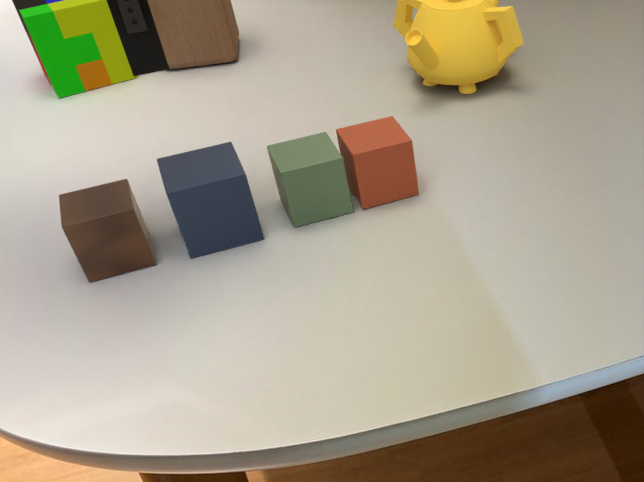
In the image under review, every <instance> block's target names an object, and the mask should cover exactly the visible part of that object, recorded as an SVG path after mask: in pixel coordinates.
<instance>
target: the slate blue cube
mask: <svg viewBox="0 0 644 482" xmlns="http://www.w3.org/2000/svg"><path fill="white" fill-rule="evenodd" d="M156 163H157V166H158V170H159V173H160V177H161V180H162V181H161V182H162V184H163V187H164V191H165V194H166V197H167V200H168V202H169V205H170V208H171V210H172V213H173V216H174V218H175V221H176V224H177V226H178V229H179V232H180V236H181V237H182V240H183V242H184V245H185V248H186V251H187V254H188V256H189V258H190V259H195V258H199V257H202V256H206V255H209V254H210V255H211V254H214V253H217V252H220V251H221V252H222V251H224V250H229V249H233V248H235V247H239V246H243V245H248V244H250V243H254V242H258V241H262V240H265V235H264V232H263V228H262V225H261V222H260V218H259V215H258V211H257V208H256V205H255V201H254V197H253V195H252V190H251V188H250V187H251V186H250V185H249V180H248V177H247V173H246V171H245V170H244V167H243V165H242V162H241V161H240V159H239V156H238V153H237V150H236V149H235V147H234V145H233V142H232V141H228V142H224V143H219V144H214V145H211V146H206V147H203V148H198V149H197V148H196V149H192V150H188V151H185V152H181V153H175V154H172V155H166V156H163V157H158V158H157V159H156Z"/></svg>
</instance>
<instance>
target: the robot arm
mask: <svg viewBox="0 0 644 482" xmlns="http://www.w3.org/2000/svg"><path fill="white" fill-rule="evenodd" d="M106 1H107V3H108V6H109V9H110V12H111V15H112V17H113V20H114V23H115V26H116V29H117V31H118V34H119V37H120V40H121V43H122V45H123V48H124V51H125V54H126V57H127V59H128V62H129V65H130V68H131V71H132V74H133V76H137V77H138V76H142V75H148V74H151V73H158V72H163V71H167V70H170V69H169V66H168V63H167V60H166V57H165V53H164V50H163V47H162V44H161V41H160V38H159V35H158V32H157V29H156V26H155V22H154V19H153V16H152V13H151V10H150V7H149V4H148V1H147V0H106Z"/></svg>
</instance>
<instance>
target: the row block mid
mask: <svg viewBox="0 0 644 482" xmlns="http://www.w3.org/2000/svg"><path fill="white" fill-rule="evenodd" d="M266 150H267V153H268V157H269V161H270V165H271V168H272V172H273V176H274V180H275V183H276V184H275V185H276V189H277V191H278V195H279V199H280V201H281V203H282V205H283V207H284V210H285V211H286V214H287V216H288V217H289V220H290V221H291V224H292V226H293V227H294V228H298V227H302V226H306V225H309V224H313V223H318V222H321V221H325V220H328V219H329V220H330V219H331V218H337V217H341V216H344V215H347V214H352V213H353V212H354V208H353V203H352V198H351V193H350V192H351V191H350V188H349V186H348V182H347V177H346V172H345V166H344V161H343V157H342V156H341V154H340V150H338V148H337V146H336V145H335V143H334V142H333V140H332V139H331V137H330V136H329V134H328V133H327V131H323V132H319V133H314V134H310V135H306V136H302V137H298V138H294V139H289V140H285V141H281V142H276V143H272V144H268V145H266Z"/></svg>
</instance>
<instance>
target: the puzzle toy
mask: <svg viewBox="0 0 644 482" xmlns="http://www.w3.org/2000/svg"><path fill="white" fill-rule="evenodd" d="M11 1H12V5H13V6H14V9H15V10H16V13H17V15H18V18H19V20H20V23H21V24H22V26H23V28H24V29H23V30H24V32H25V33H26V36H27V38H28V40H29V42H30V45H31V47H32V49H33V51H34V53H35V56H36V58H37V60H38V63H39V65H40V67H41V69H42V71H43V74H44V75H45V77H46V79H47V80H48V82H49V84H50V86H51V87H52V89H53V91H54V93H55V94H56V95H57V96H56V97H58V98H59V99H62V98H65V97H69V96H73V95H76V94H80V93H84V92H88V91H92V90H96V89H100V88H104V87H107V86H111V85H115V84H118V83H122V82H127V81H130V80H134V79H138V76H133V74H132V71H131V68H130V65H129V62H128V59H127V57H126V54H125V51H124V48H123V45H122V43H121V40H120V37H119V34H118V31H117V29H116V26H115V23H114V20H113V17H112V15H111V12H110V9H109V6H108V3H107V1H106V0H11Z"/></svg>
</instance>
